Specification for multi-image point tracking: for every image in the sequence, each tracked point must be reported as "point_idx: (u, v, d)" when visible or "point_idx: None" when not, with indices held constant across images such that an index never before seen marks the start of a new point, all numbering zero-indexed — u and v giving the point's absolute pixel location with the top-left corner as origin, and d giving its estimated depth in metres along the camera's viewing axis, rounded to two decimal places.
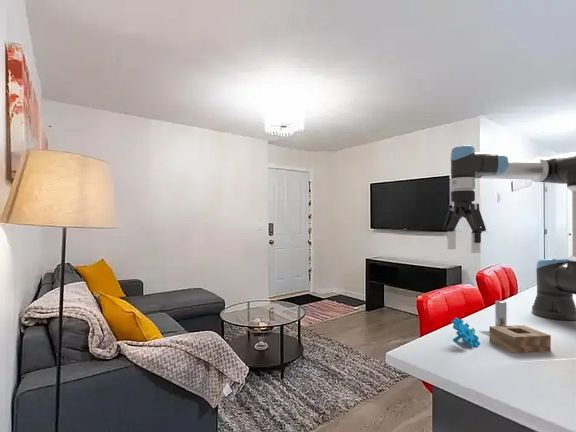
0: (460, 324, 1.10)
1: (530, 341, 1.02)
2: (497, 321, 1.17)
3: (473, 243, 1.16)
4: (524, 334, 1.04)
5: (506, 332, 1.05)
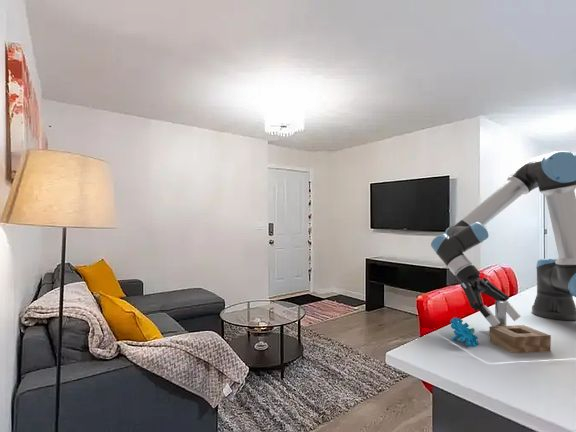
0: (458, 323, 1.11)
1: (530, 341, 1.02)
2: None
3: (486, 318, 1.14)
4: (524, 334, 1.04)
5: (506, 332, 1.05)
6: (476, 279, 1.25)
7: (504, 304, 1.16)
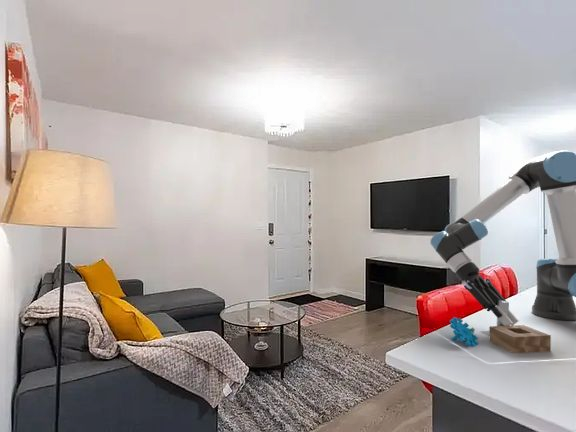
0: (458, 323, 1.11)
1: (530, 341, 1.02)
2: (498, 320, 1.16)
3: (499, 318, 1.15)
4: (524, 334, 1.04)
5: (506, 332, 1.05)
6: (476, 276, 1.25)
7: (507, 304, 1.15)
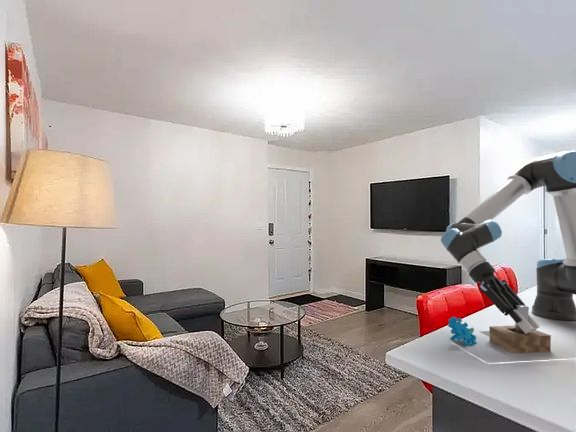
0: (457, 323, 1.12)
1: (530, 341, 1.02)
2: (516, 327, 1.06)
3: (518, 323, 1.05)
4: (524, 334, 1.04)
5: (506, 332, 1.05)
6: (491, 277, 1.15)
7: (526, 309, 1.05)
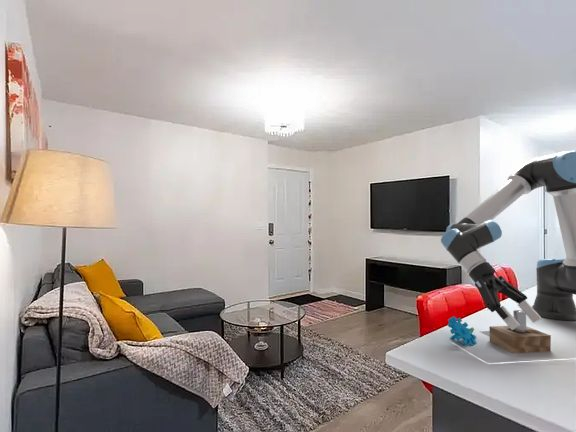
0: (457, 323, 1.12)
1: (530, 341, 1.02)
2: (515, 332, 1.06)
3: (504, 320, 1.04)
4: (524, 334, 1.04)
5: (506, 332, 1.05)
6: (491, 277, 1.15)
7: (524, 314, 1.05)
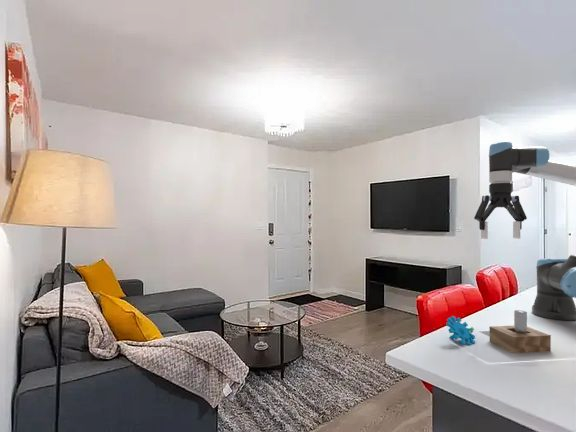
0: (456, 322, 1.12)
1: (530, 341, 1.02)
2: (516, 332, 1.06)
3: (481, 230, 1.34)
4: (524, 334, 1.04)
5: (506, 332, 1.05)
6: (504, 195, 1.33)
7: (525, 314, 1.05)
